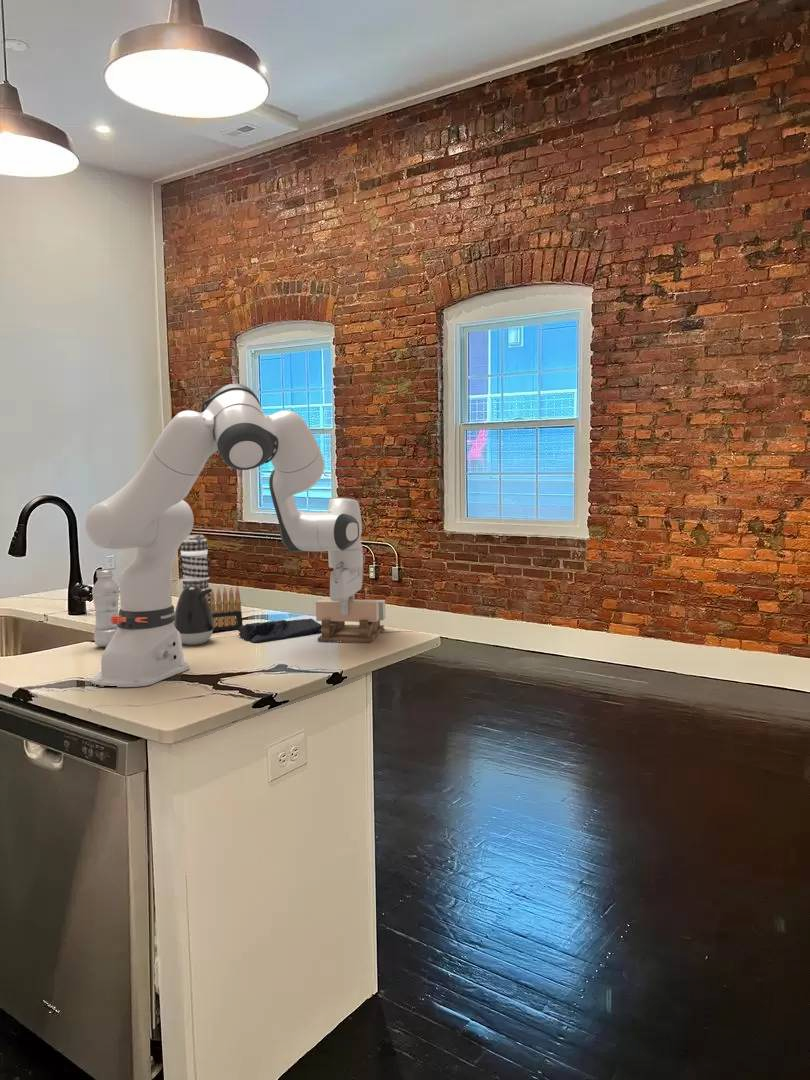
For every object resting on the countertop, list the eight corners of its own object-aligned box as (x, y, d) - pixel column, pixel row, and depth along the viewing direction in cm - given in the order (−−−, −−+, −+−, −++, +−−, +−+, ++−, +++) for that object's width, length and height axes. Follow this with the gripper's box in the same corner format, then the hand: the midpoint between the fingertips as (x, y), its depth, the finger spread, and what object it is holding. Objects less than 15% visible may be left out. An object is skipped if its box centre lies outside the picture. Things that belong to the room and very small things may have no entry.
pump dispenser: (205, 648, 201) (202, 588, 199) (167, 647, 203) (164, 588, 201) (222, 639, 211) (219, 582, 209) (185, 638, 213) (183, 582, 211)
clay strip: (379, 619, 207) (378, 600, 206) (376, 621, 204) (376, 602, 203) (319, 618, 210) (319, 599, 209) (316, 620, 207) (315, 601, 206)
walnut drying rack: (370, 642, 202) (370, 621, 202) (317, 641, 205) (316, 620, 204) (384, 628, 219) (383, 609, 218) (334, 628, 221) (334, 608, 221)
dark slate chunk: (329, 635, 214) (328, 618, 214) (249, 646, 204) (248, 627, 204) (308, 625, 228) (308, 609, 227) (233, 635, 218) (232, 618, 217)
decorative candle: (176, 617, 243) (172, 535, 241) (203, 612, 249) (200, 533, 247) (190, 621, 236) (186, 537, 234) (218, 616, 243) (214, 534, 240)
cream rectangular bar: (385, 618, 216) (385, 600, 215) (383, 620, 213) (382, 601, 212) (328, 617, 219) (327, 599, 218) (325, 619, 216) (325, 601, 215)
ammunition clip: (241, 627, 225) (239, 585, 224) (243, 628, 224) (241, 586, 222) (203, 631, 221) (201, 588, 220) (204, 632, 219) (202, 589, 218)
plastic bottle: (94, 645, 206) (90, 569, 205) (122, 642, 209) (117, 567, 207) (94, 650, 200) (89, 572, 199) (122, 648, 203) (118, 570, 201)
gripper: (347, 565, 194) (349, 620, 196) (366, 555, 214) (367, 605, 216) (322, 565, 196) (324, 620, 197) (343, 555, 216) (345, 605, 217)
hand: (347, 612), depth 207 cm, fingers closed on clay strip, 3 cm apart
